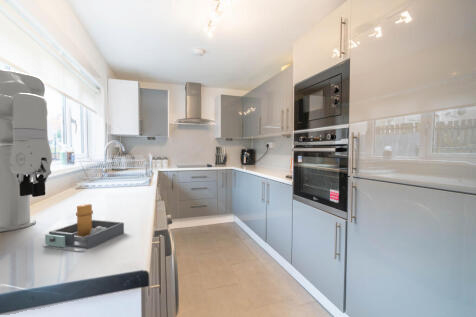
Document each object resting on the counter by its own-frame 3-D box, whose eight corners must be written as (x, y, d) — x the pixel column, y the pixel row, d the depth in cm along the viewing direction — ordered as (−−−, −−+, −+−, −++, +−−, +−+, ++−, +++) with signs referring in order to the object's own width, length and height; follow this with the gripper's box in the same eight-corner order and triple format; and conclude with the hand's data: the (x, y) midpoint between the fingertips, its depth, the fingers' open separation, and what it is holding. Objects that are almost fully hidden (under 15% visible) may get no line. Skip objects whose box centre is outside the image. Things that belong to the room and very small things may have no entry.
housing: (40, 246, 65) (40, 233, 64) (88, 228, 79) (87, 218, 79) (81, 252, 60) (81, 238, 60) (123, 232, 75) (123, 221, 75)
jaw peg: (72, 237, 70) (72, 206, 70) (86, 232, 74) (85, 203, 74) (83, 238, 69) (83, 207, 69) (96, 233, 73) (96, 204, 73)
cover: (42, 245, 64) (42, 235, 63) (47, 243, 65) (47, 234, 65) (60, 248, 62) (59, 238, 62) (65, 246, 63) (64, 236, 63)
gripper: (-5, 135, 64) (-3, 196, 64) (36, 134, 59) (38, 199, 60) (26, 137, 71) (27, 192, 71) (64, 136, 67) (66, 194, 67)
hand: (32, 195), depth 66 cm, fingers open, 4 cm apart
